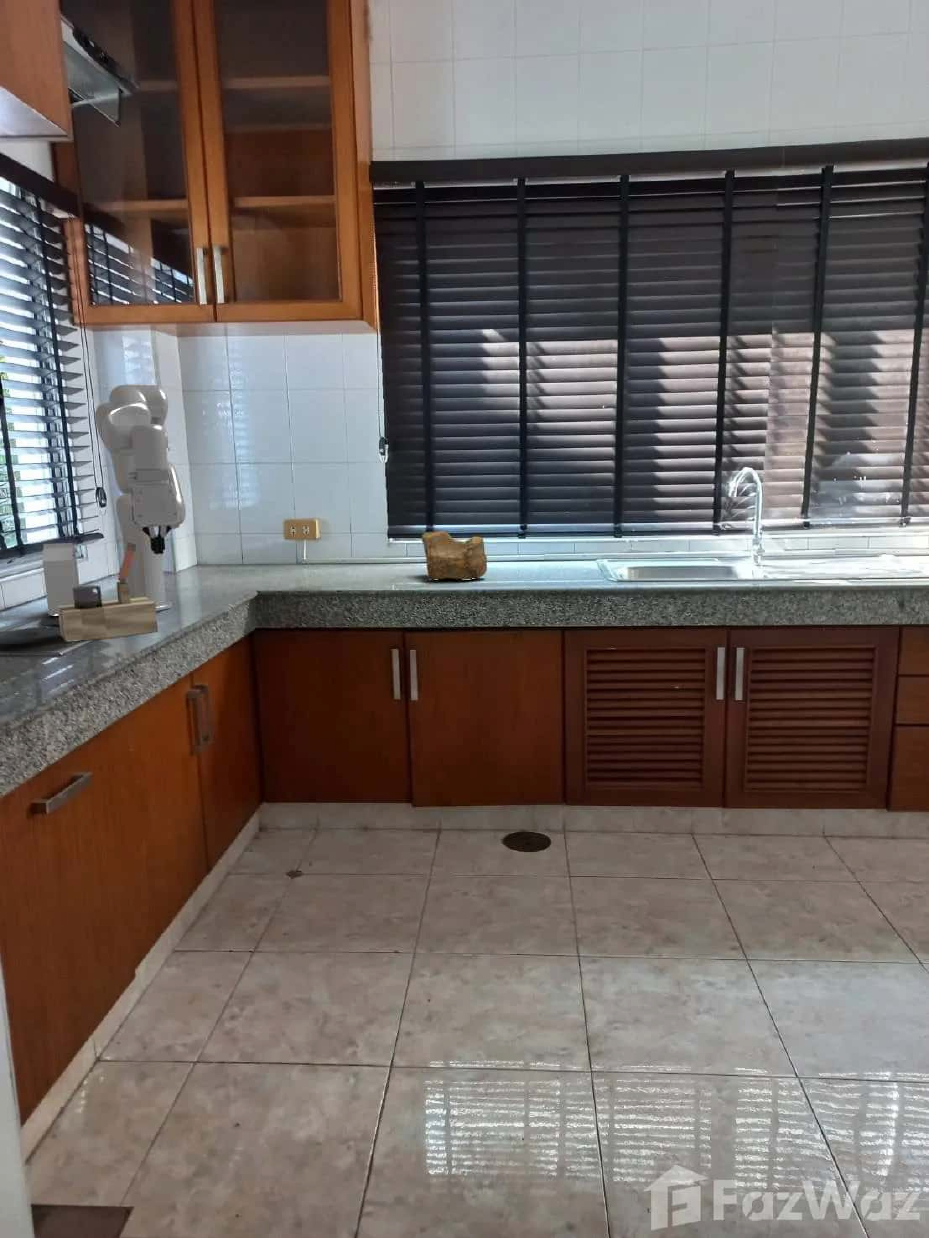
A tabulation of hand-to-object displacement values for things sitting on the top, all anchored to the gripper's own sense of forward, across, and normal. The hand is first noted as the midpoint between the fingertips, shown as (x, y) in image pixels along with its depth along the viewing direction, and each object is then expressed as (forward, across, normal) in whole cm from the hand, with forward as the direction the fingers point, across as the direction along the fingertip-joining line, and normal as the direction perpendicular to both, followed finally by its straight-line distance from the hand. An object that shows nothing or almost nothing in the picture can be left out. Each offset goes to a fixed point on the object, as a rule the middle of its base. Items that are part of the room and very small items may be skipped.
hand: (158, 553), depth 204 cm
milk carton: (+18, -18, +32) cm, 41 cm away
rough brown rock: (+18, +94, +19) cm, 98 cm away
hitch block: (+18, -13, 0) cm, 22 cm away
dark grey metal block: (+18, -17, 0) cm, 24 cm away
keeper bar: (+1, -8, 0) cm, 8 cm away
